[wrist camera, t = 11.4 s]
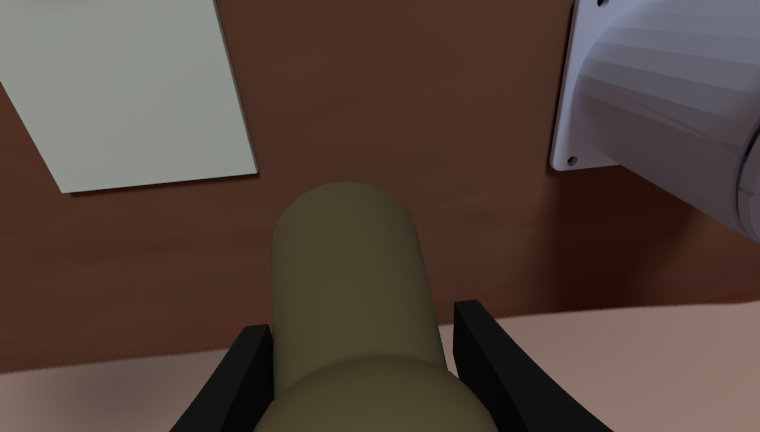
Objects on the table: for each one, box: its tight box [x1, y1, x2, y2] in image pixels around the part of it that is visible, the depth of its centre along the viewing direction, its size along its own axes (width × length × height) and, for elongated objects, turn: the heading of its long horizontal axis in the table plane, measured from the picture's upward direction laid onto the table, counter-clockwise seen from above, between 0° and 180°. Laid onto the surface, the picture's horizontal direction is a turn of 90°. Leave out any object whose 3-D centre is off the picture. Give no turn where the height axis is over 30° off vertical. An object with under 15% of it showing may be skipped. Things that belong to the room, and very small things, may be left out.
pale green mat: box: [0, 0, 258, 193], centre depth 16 cm, size 9×9×1 cm
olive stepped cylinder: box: [253, 181, 499, 432], centre depth 10 cm, size 6×6×11 cm
